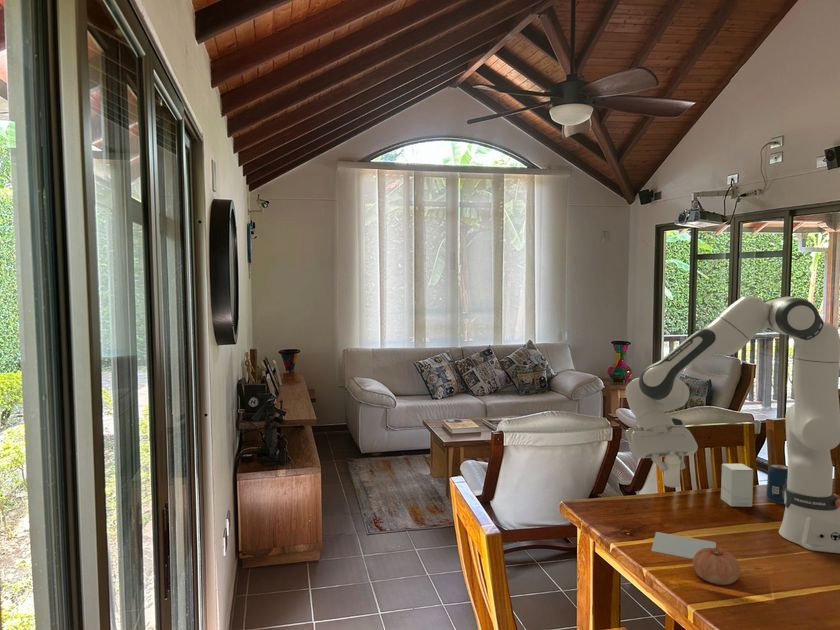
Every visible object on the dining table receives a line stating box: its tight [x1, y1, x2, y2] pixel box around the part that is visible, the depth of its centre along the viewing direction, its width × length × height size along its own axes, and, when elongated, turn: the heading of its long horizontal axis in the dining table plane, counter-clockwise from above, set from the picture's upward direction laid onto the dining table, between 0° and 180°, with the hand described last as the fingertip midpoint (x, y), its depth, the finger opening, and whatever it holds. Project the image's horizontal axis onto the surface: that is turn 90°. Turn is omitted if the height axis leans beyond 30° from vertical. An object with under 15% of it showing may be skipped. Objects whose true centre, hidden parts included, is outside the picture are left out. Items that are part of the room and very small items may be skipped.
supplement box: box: [720, 463, 754, 508], centre depth 204 cm, size 7×7×13 cm
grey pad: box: [650, 531, 717, 560], centre depth 169 cm, size 16×14×1 cm
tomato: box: [692, 547, 741, 586], centre depth 151 cm, size 11×11×8 cm
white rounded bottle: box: [662, 450, 681, 488], centre depth 174 cm, size 4×4×10 cm
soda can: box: [766, 463, 788, 504], centre depth 206 cm, size 7×7×12 cm
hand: (673, 468), depth 173 cm, fingers closed on white rounded bottle, 4 cm apart
